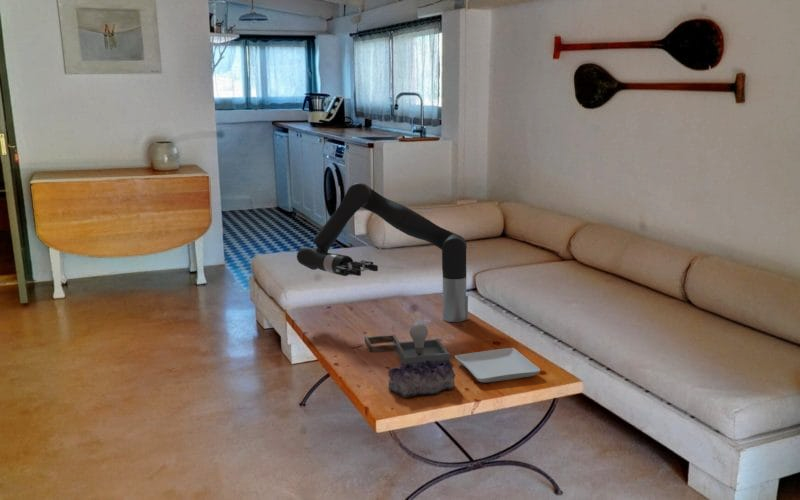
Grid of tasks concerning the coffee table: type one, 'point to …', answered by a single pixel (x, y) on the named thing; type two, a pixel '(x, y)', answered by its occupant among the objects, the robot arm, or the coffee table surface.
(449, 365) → the geode
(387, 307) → the coffee table surface
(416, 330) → the lightbulb
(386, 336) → the square wooden frame
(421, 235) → the robot arm
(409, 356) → the tray
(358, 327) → the coffee table surface
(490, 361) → the salad plate
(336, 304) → the coffee table surface
